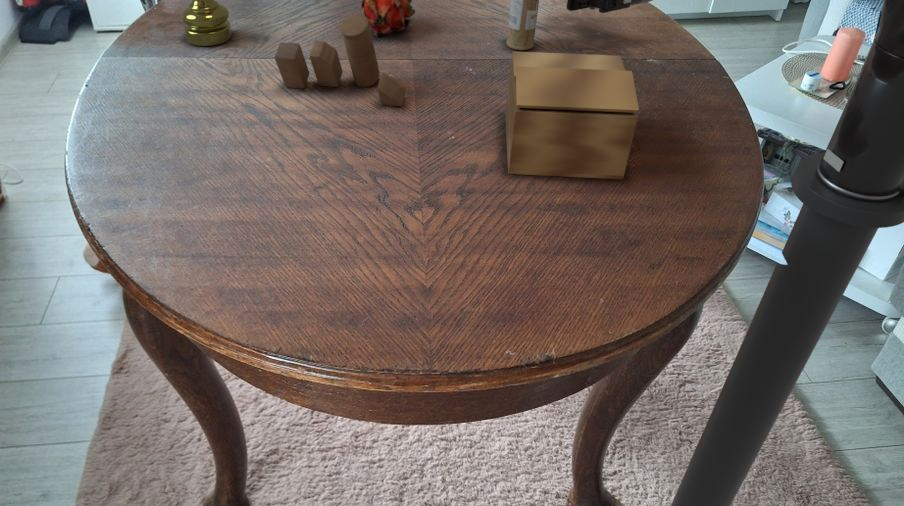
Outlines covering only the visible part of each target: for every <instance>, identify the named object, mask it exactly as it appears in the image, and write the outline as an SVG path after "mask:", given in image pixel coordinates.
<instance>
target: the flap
mask: <svg viewBox="0 0 904 506" xmlns="http://www.w3.org/2000/svg"><path fill="white" fill-rule="evenodd" d="M635 85H636V84H635V78H634V73H633V70H625V71H620V70H596V69H571V68H547V67H523V66H516V107H517V108H539V109H562V110H584V111H607V112H629V113H637V114H638V113H639V112H640V107H639V102H638V101H639V100H638V96H637V90H636V86H635Z"/></svg>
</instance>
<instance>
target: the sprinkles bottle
mask: <svg viewBox="0 0 904 506" xmlns="http://www.w3.org/2000/svg"><path fill="white" fill-rule="evenodd" d="M539 4H540V0H510V8H509V18H508V33H507V34H508V35H507V40H506V46H507V47H508V48H510V49H512V50H515V51H528V50H531V49H533V47H534V46H535V36H536V35H535V34H536V27H537V23H538V12H539Z"/></svg>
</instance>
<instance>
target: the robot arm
mask: <svg viewBox="0 0 904 506" xmlns="http://www.w3.org/2000/svg"><path fill="white" fill-rule="evenodd" d="M653 1H654V0H567V2H566V10H567V11H569V12H574V11H578V10H584V9H589V10H597V9H598V12H599V13H602V14H606V13H611V12H614V11H619V10H624V9H627V8H630V7H631V6H636V5H639V4H640V5H641V4H645V3H650V2H653ZM824 152H825V153H824ZM824 152H823V153H824V155H823V157H822V159H821V161H820V163H819V165H818V167H817V169H816V175H817V178H818V179H819V181H820V182H821V183H822V184H823V185H825V186H826V187H827V188H829V189H830V190H832V191H834V192H836V193H838V194H840V195H842V196H845V197H848V198H851V199H855V200H859V201H865V202H885V201H890V200H892V199H894V198H896V197H904V0H883V2H882V7H881V14H880V23H879V27H878V30H877V32H876V35H875V36H874V39H873V41H872V43H871V46H870V48H869V50H868V52H867V55H866V57H865V59H864V62H863V64H862V67H861V69H860V71H859V74H858V76H857V78H856V80H855V82H854V85H853V86H852V89H851V91H850V94H849V96H848V98H847V101H846V103H845V106H844V107H843V110H842V112H841V115H840V116H839V120H838V122H837V124H836V126H835V128H834V130H833V133H832V135H831V137H830V140H829V142H828V144H827V147H826V148H825V151H824Z"/></svg>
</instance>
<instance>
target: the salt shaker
mask: <svg viewBox="0 0 904 506" xmlns="http://www.w3.org/2000/svg"><path fill="white" fill-rule="evenodd" d="M180 14H181V15H180V16H181V19H182V21H183V23H184V25H183V30H184V34H185V39H186V41H187V42H188V43H189V44H192V45H194V46H199V47H212V46H218V45H221V44H224V43H226V42H228V41H229V40H230V39H231V38H232V29H231V22H230V21H229V20H228V19H229V14H230V13H229V10H228V7H226V6H225V5H224V4H222V3H219V2H218V0H191V1H190V2H189V3H188V5H187V6H185V8H183V9H182V11H181V13H180Z"/></svg>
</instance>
